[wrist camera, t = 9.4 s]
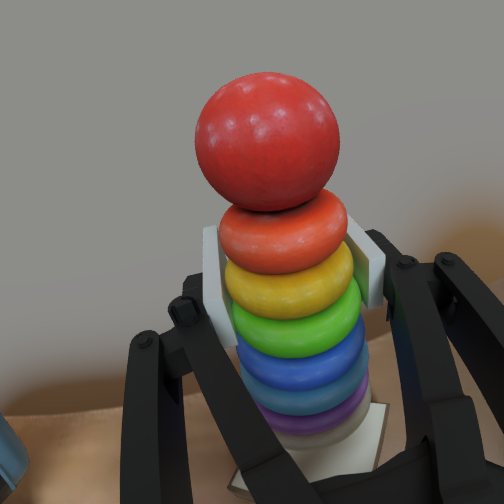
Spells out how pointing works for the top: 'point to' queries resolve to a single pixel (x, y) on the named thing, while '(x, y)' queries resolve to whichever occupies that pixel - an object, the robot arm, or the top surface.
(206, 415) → the top surface
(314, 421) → the stacking toy
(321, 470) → the pedestal
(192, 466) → the top surface
